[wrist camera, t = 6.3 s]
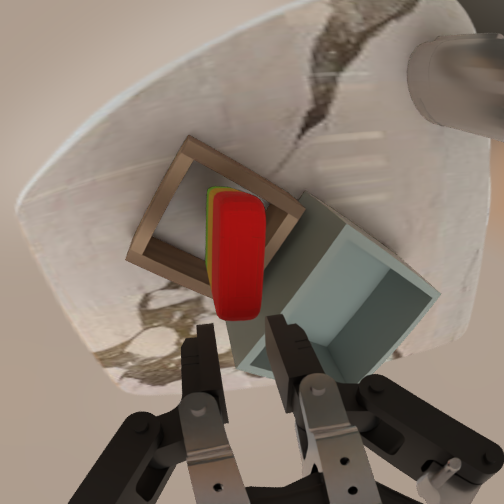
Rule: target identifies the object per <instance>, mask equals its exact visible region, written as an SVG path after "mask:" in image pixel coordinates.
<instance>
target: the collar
mask: <svg viewBox="0 0 504 504" xmlns="http://www.w3.org/2000/svg"><path fill="white" fill-rule="evenodd" d="M193 160H195V161H197V162H199V163H201V164H203V165H205V166H206V167H208V168H210V169H212V170H214V171H215V172H217V173H219V174H221V175H223V176H224V177H226V178H228V179H230V180H232V181H233V182H235V183H237V184H239V185H240V186H242V187H244V188H246V189H247V190H249V191H251V192H253V193H254V194H256V195H258V196H259V197H261V198H263V199H265V200H266V201H268V202H270V203H271V204H270V206H269V207H268V209H267V210H266V212H265V214H266V238H265V255H264V269H265V268H266V266H267V265H268V263H269V262H270V261H271V259H272V258H273V256H274V255H275V253H276V252H277V251H278V249H279V248H280V246H281V245H282V243H283V242H284V240H285V239H286V238H287V236H288V235H289V233H290V232H291V230H292V229H293V227H294V226H295V224H296V223H297V222H298V220H299V219H300V217H301V216H302V214H303V213H304V211H305V210H306V208H305V207H303V206H302V205H301V204H300V203H299V202H298V201H297V200H296V199H295V198H294V197H293V196H292V195H291V194H289V193H288V192H286V191H284V190H283V189H281V188H279V187H278V186H276V185H275V184H273V183H271V182H270V181H268V180H266V179H265V178H263V177H261V176H260V175H258V174H256V173H255V172H253V171H251V170H250V169H248V168H246V167H245V166H243V165H241V164H240V163H238V162H236V161H234V160H233V159H231V158H229V157H228V156H226V155H224V154H222V153H221V152H219V151H217V150H215V149H213V148H212V147H210V146H208V145H206V144H205V143H203V142H201V141H199V140H197V139H196V138H194V137H192V136H190V135H188V136H187V138H186V140H185V141H184V143H183V145H182V146H181V148H180V150H179V152H178V153H177V155H176V157H175V158H174V160H173V162H172V164H171V166H170V167H169V169H168V171H167V173H166V175H165V176H164V178H163V180H162V182H161V184H160V186H159V187H158V189H157V191H156V193H155V195H154V197H153V199H152V201H151V203H150V204H149V206H148V208H147V210H146V212H145V214H144V216H143V218H142V220H141V222H140V224H139V226H138V228H137V230H136V232H135V235H134V237H133V239H132V242H131V244H130V247H129V250H128V253H127V256H126V259H125V260H126V261H128V262H131V263H133V264H135V265H137V266H139V267H141V268H144V269H146V270H148V271H150V272H152V273H155V274H157V275H159V276H161V277H164V278H166V279H168V280H170V281H173V282H175V283H177V284H179V285H182V286H184V287H186V288H189V289H191V290H193V291H196V292H198V293H200V294H203V295H205V296H207V297H210V298H212V299H213V296H212V291H211V287H210V282H209V278H208V273H207V268H206V264H205V261H203V260H201V259H199V258H197V257H195V256H193V255H191V254H189V253H186V252H184V251H182V250H180V249H178V248H176V247H174V246H172V245H170V244H167V243H165V242H163V241H161V240H159V239H157V238H155V237H153V236H152V234H153V232H154V230H155V228H156V226H157V225H158V223H159V221H160V219H161V217H162V215H163V213H164V211H165V210H166V208H167V206H168V204H169V202H170V200H171V199H172V197H173V195H174V193H175V191H176V190H177V188H178V186H179V184H180V182H181V181H182V179H183V177H184V175H185V174H186V172H187V170H188V169H189V167H190V165H191V163H192V162H193Z"/></svg>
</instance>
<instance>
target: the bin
mask: <svg viewBox="0 0 504 504" xmlns="http://www.w3.org/2000/svg"><path fill="white" fill-rule="evenodd" d="M298 202H299V203H300V204H301V205H302V206H303V207H305V208H306V210H305V211H304V213H303V214H302V216H301V217H300V219H299V220H298V222H297V223H296V224H295V226H294V227H293V229H292V230H291V232H290V233H289V235H288V236H287V238H286V239H285V240H284V242H283V243H282V245H281V246H280V248H279V249H278V251H277V252H276V253H275V255H274V256H273V258H272V259H271V261H270V262H269V263H268V265H267V266H266V268H265V269H264V273H263V289H262V302H261V309H260V313H259V314H258V316H257V317H256V318H254V319H252V320H246V321H226V325H227V330H228V335H229V339H230V344H231V349H232V353H233V358H234V363H235V367H236V369H238V370H242V371H245V372H249V373H252V374H256V375H259V376H263V377H267V378H271V379H275V378H274V375H273V372H272V369H271V365H270V362H269V359H268V356H267V352H266V346H265V316H270V315H277V314H283V315H284V318H285V320H286V322H287V325H289V324H295V323H296V324H297V325H299V326H300V327H301V328H302V329H304V330H305V333H306V335H307V337H308V340H309V341H310V343H311V345H312V347H313V349H314V351H315V353H316V356H317V358H318V360H319V362H320V364H321V366H322V368H323V370H324V372H325V374H326V375H328V376H330V377H332V378H333V379H334V380H335V381H336V382H340V383H360V381H361V380H362V379H363V378H364V377H365V376H367V375H371V374H373V373H374V372H375V371H376V370H377V369H378V368H379V367H380V366H381V364H383V363H384V362H385V360H386V359H387V358H388V357H389V356H390V355H391V354H392V353H393V352H394V351H395V350H396V348H397V347H398V346H399V345H400V344H401V343H402V342H403V341H404V339H405V338H406V337H407V336H408V335H409V334H410V332H411V331H412V330H413V329H414V328H415V327H416V325H417V324H418V323H419V322H420V320H421V319H422V318H423V317H424V316H425V314H426V313H427V312H428V311H429V309H430V308H431V307H432V305H433V304H434V303H435V302H436V300H437V299H438V298H439V296H440V295H441V293H440V292H438V291H437V290H436V289H435V288H434V287H433V286H432V285H431V284H430V283H429V282H427V281H426V280H425V279H424V278H423V277H422V276H421V275H419V274H418V273H417V272H416V271H415V270H414V269H413V268H411V267H410V266H409V265H408V264H407V263H406V262H404V261H403V260H402V259H401V258H400V257H399V256H397V255H396V254H395V253H393V252H392V251H391V250H389V249H388V248H387V247H385V246H384V245H383V244H381V243H380V242H379V241H377V240H376V239H375V238H373V237H372V236H371V235H369V234H368V233H366V232H365V231H364V230H362V229H361V228H359V227H358V226H357V225H355V224H354V223H352V222H351V221H350V220H348V219H347V218H345V217H344V216H342V215H341V214H340V213H338V212H337V211H335V210H334V209H332V208H331V207H329V206H328V205H326V204H325V203H323V202H322V201H321V200H319V199H318V198H316V197H315V196H313V195H312V194H310V193H309V192H307V191H305V192H304V193H303V195H302V196H301V198H300V199H299V200H298Z"/></svg>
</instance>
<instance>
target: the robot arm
mask: <svg viewBox="0 0 504 504" xmlns="http://www.w3.org/2000/svg"><path fill="white" fill-rule="evenodd" d="M407 83H408V88H409V92H410V95H411V98H412V101H413V103H414V104H415V106H416V108H417V110H418V111H419V112H420V114H421V115H422V116H423V117H424V118H425V119H427V120H428V121H430V122H432V123H433V124H437V125H440V126H446V127H450V128H454V129H458V130H462V131H466V132H470V133H473V134H477V135H481V136H484V137H488V138H491V139H495V140H498V141H502V142H504V36H503V35H501V34H499V33H482V34H461V35H448V36H438V37H437V38H436V40H435V41H433V42H425V43H423V44H420V45H419V46H418V47H417V48H415V50H414V51H413V53H412V54H411V56H410V59H409V62H408V68H407ZM196 327H197V337H195V338H186V339H185V341H184V343H183V345H182V346H181V366H182V367H181V372H182V399H181V401H180V403H179V405H178V406H177V407H176V408H175V409H173V410H172V411H170V412H167V413H165V414H162V415H159V416H154V415H153V414H151V413H149V412H136V413H133V414H131V415H130V416H128V417H127V418H126V419H125V421H124V422H123V424H122V425H121V427H120V428H119V429H118V431H117V432H116V434H115V435H114V437H113V438H112V439H111V441H110V442H109V444H108V445H107V447H106V448H105V450H104V451H103V453H102V454H101V455H100V457H99V458H98V460H97V461H96V463H95V464H94V466H93V467H92V469H91V470H90V471H89V473H88V475H87V476H86V478H85V479H84V480H83V482H82V483H81V485H80V486H79V488H78V489H77V491H76V492H75V494H74V495H73V496H72V498H71V499H70V501H69V502H68V504H155V503H156V502H157V500H158V498H159V496H160V494H161V492H162V491H163V489H164V487H165V485H166V483H167V481H168V480H169V478H170V476H171V474H172V472H173V470H174V469H175V467H176V464H178V463H181V462H183V461H186V460H187V465H188V470H189V474H190V479H191V483H192V487H193V491H194V495H195V499H196V503H197V504H423V503H420V502H418V501H416V500H414V499H412V498H410V497H407V496H405V495H403V494H401V493H399V492H397V491H395V490H392V489H391V488H389V487H387V486H385V485H383V484H380V483H379V482H376V481H375V479H374V476H373V473H372V470H371V467H370V464H369V461H368V457H367V454H366V451H365V448H364V445H365V446H366V447H368V448H369V449H370V450H372V451H373V452H375V453H376V454H377V455H379V456H380V457H382V458H383V459H384V460H386V461H387V462H389V463H390V464H392V465H393V466H394V467H396V468H397V469H399V470H400V471H402V472H403V473H405V474H407V475H408V476H410V477H411V478H412V479H414V480H415V481H417V491H418V494H419V496H420V497H423V498H424V499H425V501H426V503H427V504H471V502H472V501H473V499H474V497H475V495H476V494H477V492H478V490H479V489H480V487H481V485H482V484H483V483H484V482H486V481H487V480H488V479H489V478H491V477H492V476H493V475H494V474H495V473H497V472H498V471H499V470H500V469H501V468H502V466H503V464H504V452H503V450H502V448H501V447H500V446H499V445H497V444H496V443H494V442H492V441H491V440H489V439H487V438H486V437H484V436H482V435H480V434H479V433H477V432H475V431H474V430H472V429H470V428H469V427H467V426H465V425H463V424H462V423H460V422H458V421H457V420H455V419H453V418H452V417H450V416H448V415H447V414H445V413H443V412H442V411H440V410H438V409H437V408H435V407H433V406H432V405H430V404H429V403H427V402H425V401H424V400H422V399H420V398H418V397H417V396H416V395H413V394H412V393H411V392H409V391H407V390H406V389H404V388H403V387H401V386H399V385H398V384H396V383H395V382H393V381H391V380H390V379H388V378H387V377H385V376H383V375H378V374H371V375H367V376H365V377H364V378H363V379H362V380H361V381H360V383H340V382H336V381H335V380H334V379H333V378H332V377H330V376H328V375H326V374H325V372H324V370H323V368H322V366H321V364H320V362H319V360H318V358H317V356H316V353H315V351H314V349H313V347H312V345H311V343H310V341H309V340H308V337H307V335H306V333H305V330H304V329H302V328H301V327H300V326H299V325H297V324H296V323H295V324H289V325H287V322H286V320H285V318H284V315H283V314H277V315H270V316H265V346H266V352H267V356H268V359H269V362H270V365H271V369H272V372H273V375H274V378H275V381H276V384H277V387H278V390H279V393H280V396H281V400H282V403H283V406H284V409H285V412H286V413H291V412H293V414H294V417H295V430H296V435H297V440H298V445H299V451H300V455H301V461H302V476H303V478H302V479H300V480H298V481H296V482H294V483H292V484H289V485H287V486H285V487H275V488H274V487H252V486H250V487H244V484H243V481H242V478H241V475H240V472H239V469H238V466H237V463H236V460H235V457H234V454H233V451H232V449H231V447H230V445H229V441H228V438H227V435H226V432H225V428H224V424H225V423H229V421H228V416H227V409H226V404H225V397H224V391H223V385H222V379H221V372H220V365H219V359H218V352H217V345H216V339H215V332H214V325H213V323H210V324H202V325H196Z"/></svg>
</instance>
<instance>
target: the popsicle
mask: <svg viewBox="0 0 504 504" xmlns="http://www.w3.org/2000/svg"><path fill="white" fill-rule="evenodd" d="M265 238H266V214H265V208H264V205H263V203H262V202H261V200H260V199H259V198H258V197H256V196H253V195H251V194H248V193H245V192H242V191H239V190H236V189H233V188H230V187H219V186H216V187H210V188H209V189H208V190H207V202H206V254H205V264H206V268H207V273H208V278H209V282H210V287H211V291H212V296H213V300H214V305H215V309H216V313H217V316H218V317H219V318H220V319H222V320H225V321H246V320H252V319H254V318H256V317H257V316H258V314H259V313H260V309H261V302H262V289H263V273H264V255H265Z"/></svg>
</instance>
